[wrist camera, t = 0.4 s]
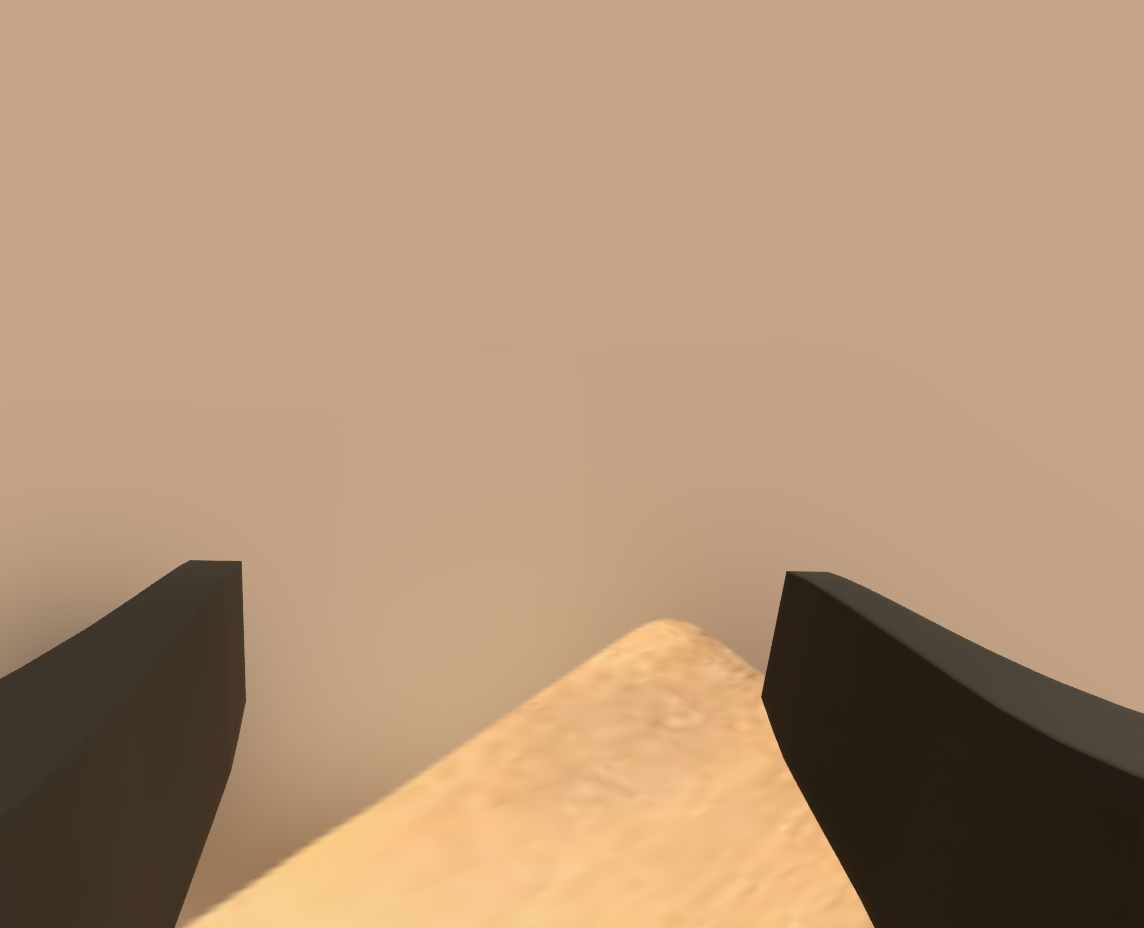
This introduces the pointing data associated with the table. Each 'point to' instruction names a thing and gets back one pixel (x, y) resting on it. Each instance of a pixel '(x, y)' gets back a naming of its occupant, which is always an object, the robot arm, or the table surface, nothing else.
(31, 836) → the robot arm
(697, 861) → the table surface
